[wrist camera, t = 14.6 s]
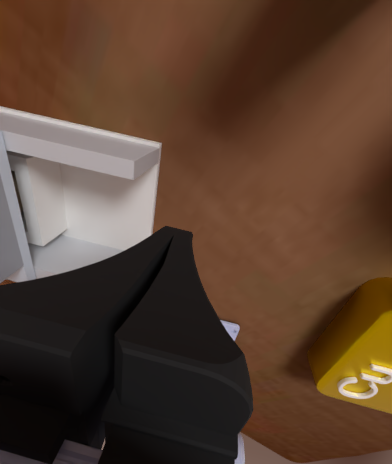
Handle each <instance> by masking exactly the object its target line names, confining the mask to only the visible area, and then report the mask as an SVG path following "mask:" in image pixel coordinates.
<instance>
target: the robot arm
mask: <svg viewBox="0 0 392 464" xmlns="http://www.w3.org/2000/svg"><path fill="white" fill-rule="evenodd" d="M192 237H193V234H192V232H189V231H185V230H181V229H177V228H173V227H168V226H165V227H163V228H161V229H160V230H158V231H157V232H155V233H154V234H152V235H151V236H149V237H148V238H146V239H144V240H143V241H141V242H139V243H138V244H136V245H134V246H132V247H130V248H128V249H127V250H125V251H123V252H121V253H118V254H116V255H114V256H112V257H109V258H107V259H104V260H102V261H99V262H96V263H93V264H90V265H87V266H84V267H81V268H78V269H75V270H71V271H68V272H64V273H60V274H56V275H52V276H48V277H43V278H39V279H34V280H29V281H23V282H17V283H12V284H6V285H0V464H245V455H244V442H243V438H242V436H241V434H240V433H239V432H240V431H241V430H242V428H243V427H244V425H245V424H246V423H247V421H248V420H249V418H250V417H251V414H252V411H253V397H252V389H251V383H250V377H249V372H248V368H247V364H246V360H245V356H244V354H243V352H242V351H241V350H240V348H239V347H238V346H237V344H236V343H235V342H234V341H235V339H236V336H237V334H238V332H239V329H240V327H239V325H238V324H234V323H231V322H227V321H223V320H220V319H219V318H218V316H217V314H216V312H215V310H214V309H213V307H212V305H211V303H210V301H209V299H208V297H207V295H206V293H205V291H204V288H203V286H202V283H201V281H200V278H199V275H198V272H197V268H196V265H195V260H194V255H193V249H192ZM104 439H105V446H104V448H103V450H101V448H102V445H103V442H104Z"/></svg>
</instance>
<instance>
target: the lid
mask: <svg viewBox="0 0 392 464" xmlns="http://www.w3.org/2000/svg"><path fill="white" fill-rule="evenodd" d="M5 279H7V280H11V281H15V282H23V281H29V280H34V279H36V277H35V272H34V268H33V264H32V259H31V255H30V251H29V247H28V242H27V238H26V234H25V229H24V225H23V221H22V216H21V212H20V208H19V204H18V199H17V195H16V191H15V186H14V182H13V178H12V174H11V169H10V165H9V161H8V156H7V152H6V148H5V143H4V139H3V135H2V131H0V283H1V282H2V281H4V280H5Z"/></svg>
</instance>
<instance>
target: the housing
mask: <svg viewBox="0 0 392 464" xmlns="http://www.w3.org/2000/svg"><path fill="white" fill-rule="evenodd" d="M0 131H2V135H3V139H4V143H5V148H6V152H7V156H8V161H9V165H10V169H11V170H12V171H15V176H16V180H17V185H18V189H19V194H20V198H21V202H22V207H23V212H21V216H22V221H23V225H24V229H25V234H26V238H27V242H28V247H29V251H30V255H31V259H32V264H33V268H34V272H35V277H36V278H38V279H39V278H43V277H48V276H52V275H56V274H60V273H64V272H68V271H71V270H75V269H78V268H81V267H84V266H87V265H90V264H93V263H96V262H99V261H102V260H104V259H107V258H109V257H112V256H114V255H116V254H118V253H121V252H123V251H125V250H127V249H128V248H130V247H132V246H134V245H136V244H138V243H139V242H141V241H143V240H144V239H146V238H148V237H149V236H151V235H152V233H153V224H154V214H155V204H156V195H157V185H158V176H159V166H160V156H161V147H162V143H159V142H155V141H151V140H146V139H142V138H138V137H133V136H129V135H124V134H120V133H116V132H111V131H107V130H102V129H98V128H94V127H89V126H85V125H80V124H76V123H72V122H67V121H63V120H59V119H54V118H50V117H45V116H41V115H37V114H32V113H28V112H23V111H19V110H15V109H10V108H6V107H2V106H0Z"/></svg>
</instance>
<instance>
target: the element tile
mask: <svg viewBox="0 0 392 464" xmlns="http://www.w3.org/2000/svg"><path fill="white" fill-rule="evenodd" d="M307 357H308V361H309V364H310V368H311V371H312V375H313V378H314V381H315V385H316V387H317V389H318V391H319V392H321V393H323V394H325V395H327V396H330V397H333V398H337V399H341V400H344V401H348V402H351V403H355V404H358V405H362V406H366V407H369V408H373V409H376V410H380V411H383V412H387V413H390V414H392V278H389V277H384V278H375V279H372V280H369V281H367V282H366V283H364V284H363V285H361V286H360V287H359V288H358V289H357V291H356V292H355V293H354V294H353V296H352V297H351V298H350V299H349V301H348V302H347V303H346V304H345V306H344V307H343V308H342V309H341V311H340V312H339V313H338V314H337V315H336V317H335V318H334V319H333V320H332V322H331V323H330V324H329V325H328V327H327V328H326V329H325V330H324V332H323V333H322V334H321V335H320V337H319V338H318V339H317V340H316V342H315V343H314V344H313V345H312V347H311V348H310V349H309V351H308V353H307Z"/></svg>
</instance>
